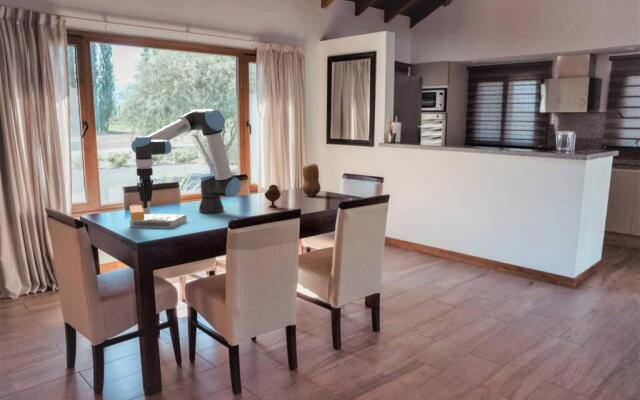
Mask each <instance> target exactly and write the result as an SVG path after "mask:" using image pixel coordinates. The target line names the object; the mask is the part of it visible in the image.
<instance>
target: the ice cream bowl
mask: <svg viewBox="0 0 640 400" xmlns="http://www.w3.org/2000/svg"><path fill="white" fill-rule="evenodd" d="M264 196H265V197H264V198H266V200H268V201H269V202H271V205H270V206H269V208H270V209H277V208H278V206H277V205H275V202H276V201H278V200H279V199H280V198H281V196H282V192H280V190H279V186H277V185H276V184H271V185H270V186H269V187H268V189H267V190H266V192H264ZM269 208H268V209H269Z"/></svg>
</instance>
